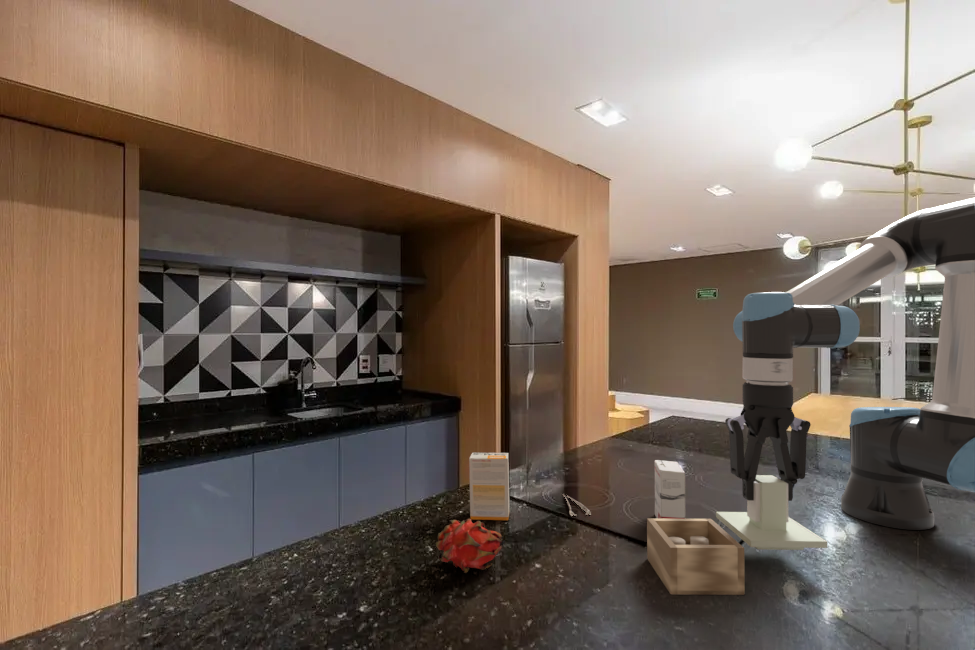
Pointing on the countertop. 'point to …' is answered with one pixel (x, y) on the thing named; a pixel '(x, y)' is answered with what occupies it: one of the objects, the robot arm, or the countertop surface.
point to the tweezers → (577, 504)
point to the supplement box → (489, 486)
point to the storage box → (695, 557)
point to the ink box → (669, 490)
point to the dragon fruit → (468, 544)
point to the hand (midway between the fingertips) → (767, 518)
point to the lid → (771, 522)
